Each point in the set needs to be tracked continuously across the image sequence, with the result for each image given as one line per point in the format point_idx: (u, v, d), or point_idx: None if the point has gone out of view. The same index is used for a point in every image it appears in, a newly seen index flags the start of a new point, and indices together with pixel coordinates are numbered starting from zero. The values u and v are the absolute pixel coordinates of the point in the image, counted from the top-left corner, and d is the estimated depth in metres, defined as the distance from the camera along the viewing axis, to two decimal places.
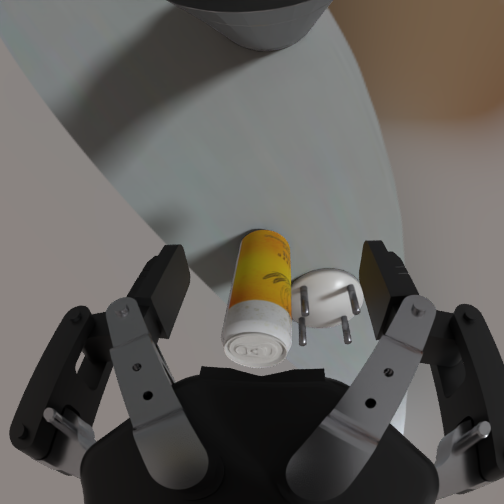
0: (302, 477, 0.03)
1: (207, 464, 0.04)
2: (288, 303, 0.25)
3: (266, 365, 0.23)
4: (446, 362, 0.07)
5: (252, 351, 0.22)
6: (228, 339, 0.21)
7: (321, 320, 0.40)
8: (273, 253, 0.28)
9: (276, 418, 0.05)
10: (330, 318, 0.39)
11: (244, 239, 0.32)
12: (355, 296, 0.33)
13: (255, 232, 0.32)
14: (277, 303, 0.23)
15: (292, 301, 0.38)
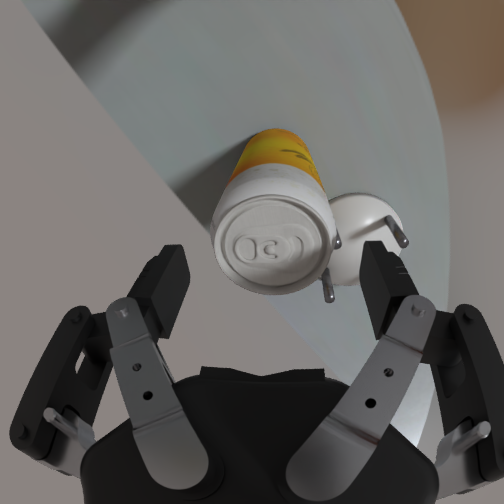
0: (302, 477, 0.03)
1: (207, 464, 0.04)
2: None
3: (291, 289, 0.14)
4: (446, 362, 0.07)
5: (267, 250, 0.12)
6: (222, 218, 0.12)
7: (350, 273, 0.30)
8: (291, 140, 0.19)
9: (276, 418, 0.05)
10: None
11: (250, 140, 0.23)
12: (398, 226, 0.23)
13: (264, 131, 0.22)
14: (307, 172, 0.14)
15: None
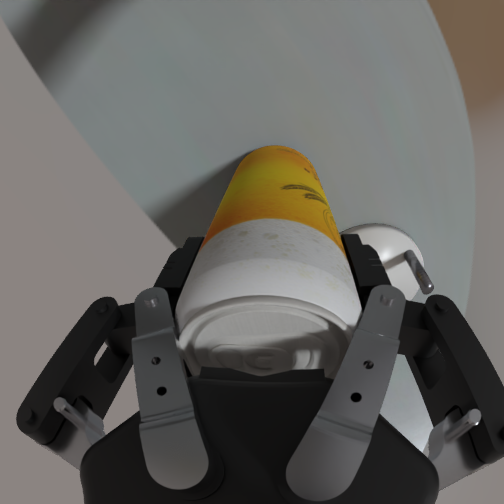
0: (302, 477, 0.03)
1: (206, 469, 0.04)
2: None
3: None
4: (420, 353, 0.08)
5: (259, 363, 0.08)
6: (186, 323, 0.07)
7: None
8: (296, 165, 0.14)
9: (276, 418, 0.05)
10: None
11: (242, 161, 0.18)
12: (421, 266, 0.19)
13: (261, 148, 0.18)
14: (322, 231, 0.09)
15: None
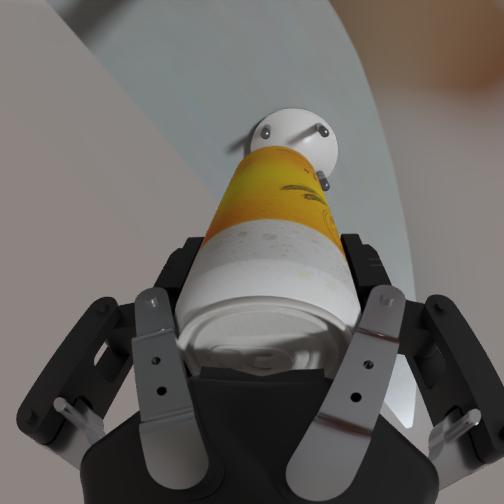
0: (302, 477, 0.03)
1: (206, 469, 0.04)
2: (341, 244, 0.10)
3: None
4: (420, 353, 0.08)
5: (258, 363, 0.08)
6: (186, 324, 0.07)
7: None
8: (295, 166, 0.14)
9: (276, 418, 0.05)
10: None
11: (241, 161, 0.18)
12: (323, 125, 0.28)
13: (260, 149, 0.18)
14: (322, 232, 0.09)
15: (257, 148, 0.33)
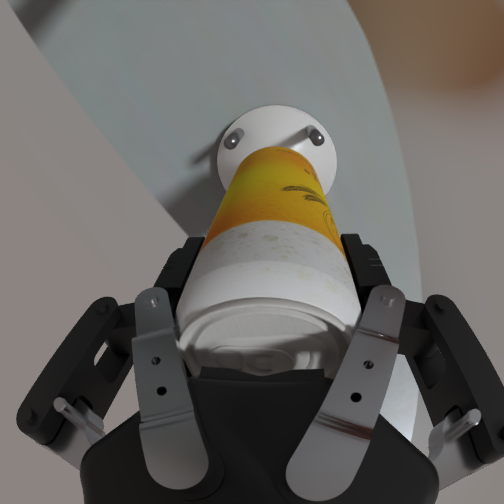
0: (302, 477, 0.03)
1: (206, 469, 0.04)
2: (341, 244, 0.10)
3: None
4: (419, 353, 0.08)
5: (259, 364, 0.08)
6: (187, 325, 0.07)
7: None
8: (296, 166, 0.14)
9: (276, 418, 0.05)
10: None
11: (242, 162, 0.18)
12: (316, 129, 0.20)
13: (261, 149, 0.18)
14: (322, 233, 0.09)
15: (225, 160, 0.25)
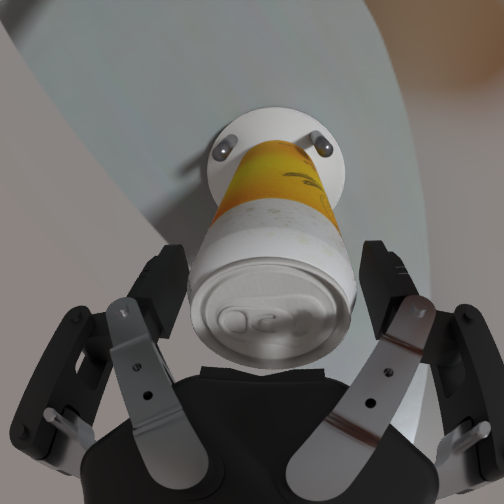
0: (302, 477, 0.03)
1: (207, 464, 0.04)
2: None
3: (292, 363, 0.10)
4: (446, 363, 0.07)
5: (263, 325, 0.09)
6: (200, 285, 0.08)
7: None
8: (296, 157, 0.15)
9: (275, 418, 0.05)
10: None
11: (245, 154, 0.19)
12: (323, 136, 0.17)
13: (263, 142, 0.19)
14: (319, 210, 0.10)
15: (217, 171, 0.21)
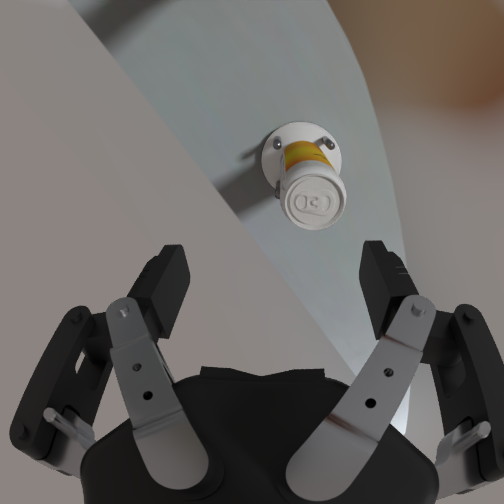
0: (302, 477, 0.03)
1: (207, 464, 0.04)
2: None
3: (322, 227, 0.25)
4: (445, 363, 0.07)
5: (312, 202, 0.23)
6: (291, 184, 0.23)
7: None
8: (316, 149, 0.30)
9: (276, 418, 0.05)
10: None
11: (286, 147, 0.34)
12: (329, 139, 0.32)
13: (296, 141, 0.33)
14: (330, 166, 0.25)
15: (267, 157, 0.36)
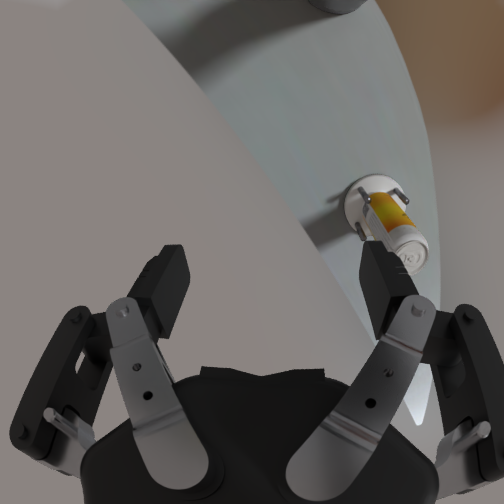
0: (302, 477, 0.03)
1: (207, 464, 0.04)
2: None
3: (411, 274, 0.31)
4: (446, 362, 0.07)
5: (409, 259, 0.30)
6: (399, 247, 0.29)
7: None
8: (397, 204, 0.36)
9: (276, 418, 0.05)
10: None
11: None
12: (402, 193, 0.38)
13: (376, 193, 0.40)
14: None
15: (350, 203, 0.42)
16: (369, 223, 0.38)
